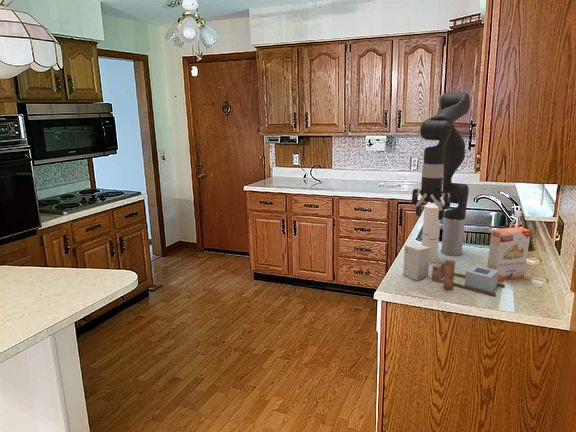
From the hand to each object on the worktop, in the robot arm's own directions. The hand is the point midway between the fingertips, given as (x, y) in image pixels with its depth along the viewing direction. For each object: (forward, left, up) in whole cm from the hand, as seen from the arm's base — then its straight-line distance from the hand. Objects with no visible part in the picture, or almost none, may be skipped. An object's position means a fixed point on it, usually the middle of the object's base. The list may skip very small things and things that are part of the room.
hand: (429, 217), depth 170 cm
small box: (-5, -6, -27) cm, 28 cm away
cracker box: (-25, +23, -27) cm, 43 cm away
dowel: (+1, +10, -27) cm, 29 cm away
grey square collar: (-8, +19, -26) cm, 33 cm away
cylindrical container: (-27, -10, -27) cm, 40 cm away
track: (-8, +14, -27) cm, 31 cm away
